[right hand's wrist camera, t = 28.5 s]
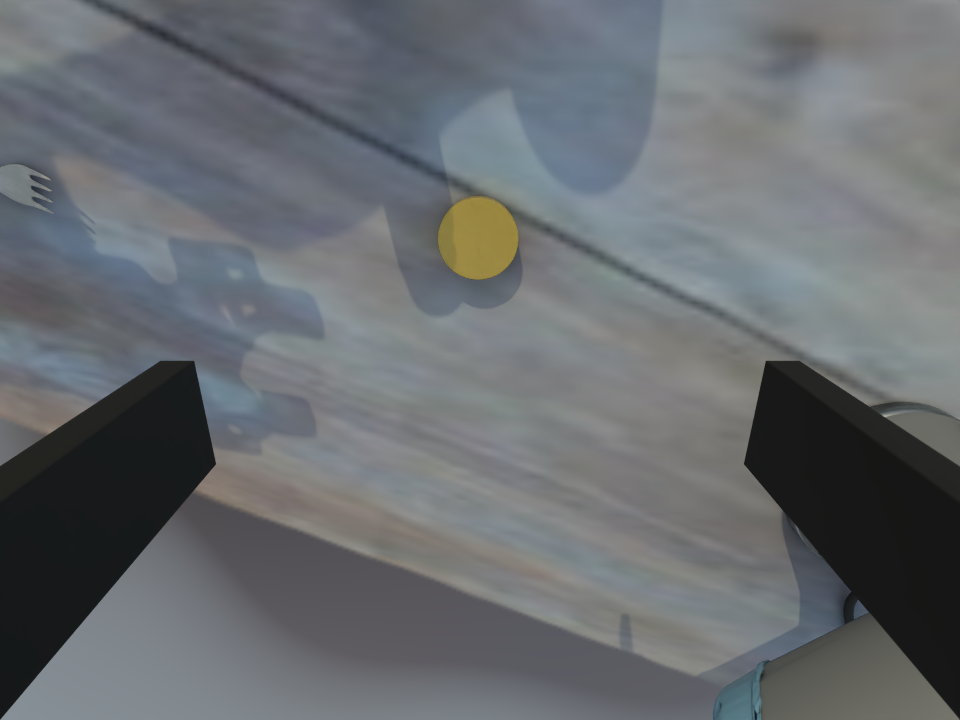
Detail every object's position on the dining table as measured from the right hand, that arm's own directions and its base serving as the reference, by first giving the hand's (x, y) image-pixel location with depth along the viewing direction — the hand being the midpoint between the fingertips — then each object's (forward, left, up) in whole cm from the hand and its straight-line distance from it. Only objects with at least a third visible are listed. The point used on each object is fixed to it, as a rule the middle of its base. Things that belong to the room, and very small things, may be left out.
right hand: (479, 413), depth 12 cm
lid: (0, 0, -25) cm, 25 cm away
